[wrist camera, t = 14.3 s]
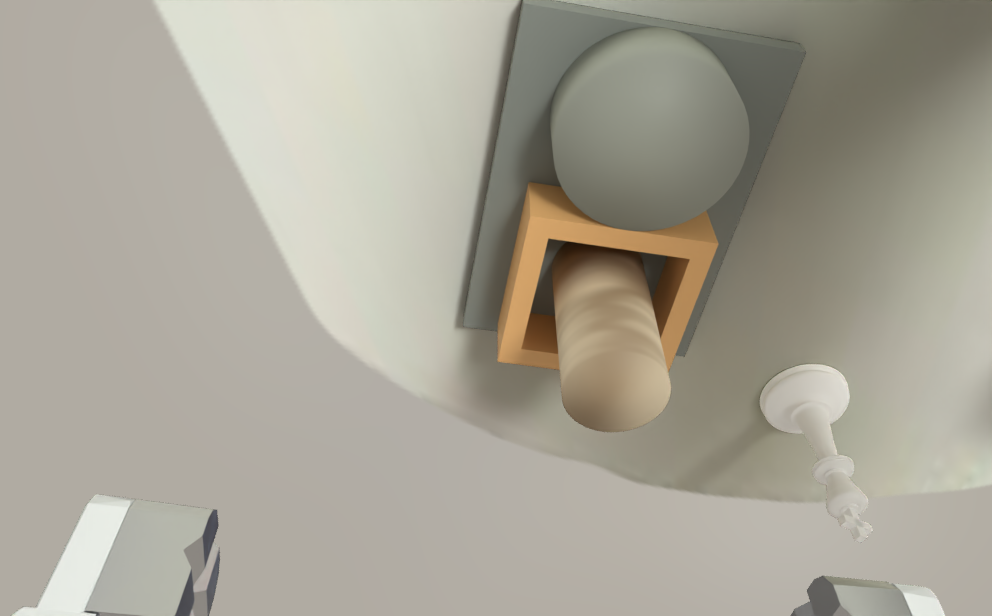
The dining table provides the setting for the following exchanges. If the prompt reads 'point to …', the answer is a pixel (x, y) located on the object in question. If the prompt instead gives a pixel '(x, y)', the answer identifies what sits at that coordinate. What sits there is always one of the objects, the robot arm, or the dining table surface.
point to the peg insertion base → (620, 163)
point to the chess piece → (819, 434)
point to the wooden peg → (607, 338)
